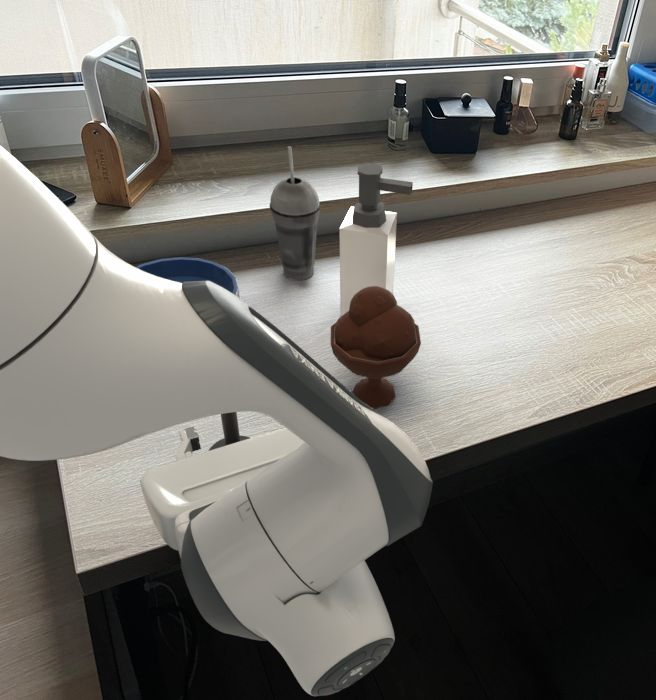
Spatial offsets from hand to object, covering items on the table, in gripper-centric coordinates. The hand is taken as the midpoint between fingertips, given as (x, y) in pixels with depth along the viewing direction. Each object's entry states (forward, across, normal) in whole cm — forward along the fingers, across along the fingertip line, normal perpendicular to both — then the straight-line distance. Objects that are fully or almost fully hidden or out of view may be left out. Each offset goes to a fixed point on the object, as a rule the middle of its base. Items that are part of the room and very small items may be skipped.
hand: (235, 418), depth 73 cm
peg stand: (+3, 0, +10) cm, 10 cm away
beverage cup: (+38, -20, +10) cm, 44 cm away
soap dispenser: (+24, -27, +10) cm, 38 cm away
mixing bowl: (+31, -1, +10) cm, 33 cm away
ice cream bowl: (+8, -19, +10) cm, 23 cm away
